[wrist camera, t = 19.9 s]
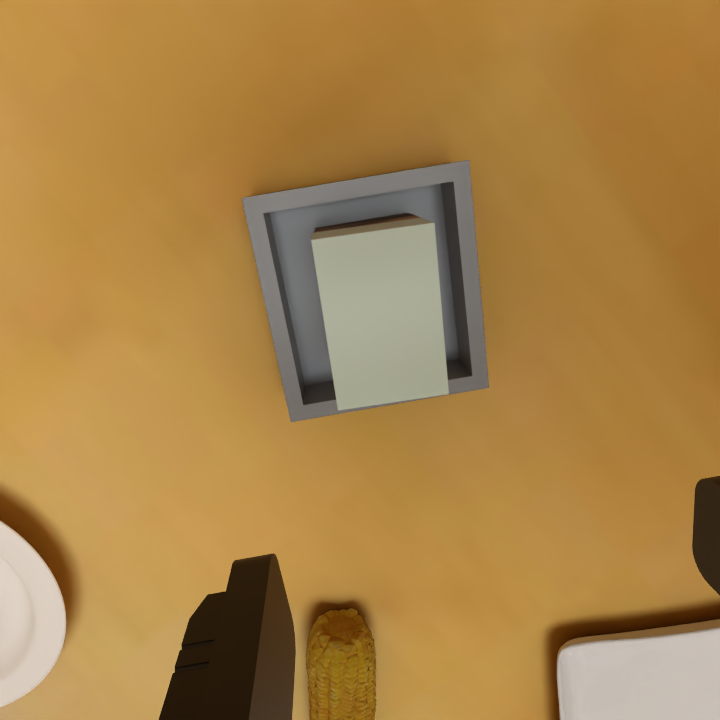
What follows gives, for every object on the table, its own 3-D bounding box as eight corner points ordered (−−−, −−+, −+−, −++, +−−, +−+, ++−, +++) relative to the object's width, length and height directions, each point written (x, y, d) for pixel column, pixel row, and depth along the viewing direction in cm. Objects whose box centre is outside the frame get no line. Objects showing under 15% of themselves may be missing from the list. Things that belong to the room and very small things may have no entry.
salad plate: (546, 786, 54) (561, 824, 51) (542, 620, 48) (558, 652, 44) (751, 752, 55) (778, 789, 51) (776, 584, 48) (809, 613, 45)
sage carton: (420, 217, 30) (434, 222, 26) (434, 369, 33) (448, 394, 29) (312, 232, 30) (311, 239, 26) (336, 384, 32) (338, 410, 29)
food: (304, 598, 45) (301, 658, 39) (372, 594, 45) (379, 652, 39) (315, 777, 51) (315, 850, 46) (374, 772, 52) (381, 844, 46)
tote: (450, 162, 35) (469, 160, 30) (470, 365, 39) (489, 387, 35) (251, 196, 34) (241, 197, 30) (294, 395, 39) (290, 422, 35)
